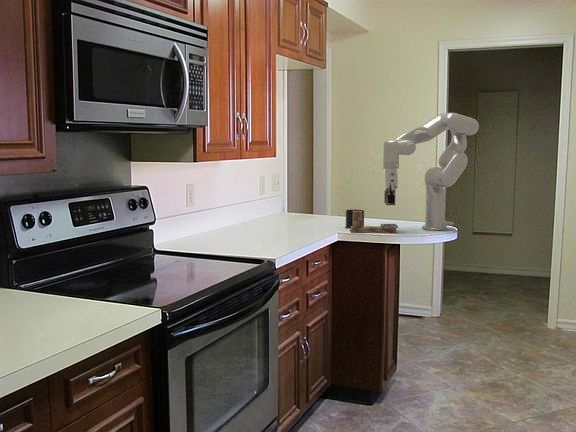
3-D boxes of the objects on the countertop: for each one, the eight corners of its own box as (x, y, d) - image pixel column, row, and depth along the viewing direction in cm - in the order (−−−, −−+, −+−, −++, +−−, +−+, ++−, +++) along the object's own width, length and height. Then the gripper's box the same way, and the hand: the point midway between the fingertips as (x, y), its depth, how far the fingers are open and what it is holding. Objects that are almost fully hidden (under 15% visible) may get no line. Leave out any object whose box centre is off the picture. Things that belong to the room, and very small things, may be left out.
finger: (393, 204, 311) (394, 188, 310) (395, 205, 307) (395, 189, 306) (384, 204, 311) (384, 188, 310) (385, 205, 307) (385, 189, 306)
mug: (368, 226, 329) (369, 209, 328) (359, 229, 319) (359, 212, 317) (352, 225, 334) (352, 208, 332) (342, 228, 323) (342, 210, 322)
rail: (395, 230, 314) (395, 210, 313) (397, 233, 307) (398, 212, 305) (350, 230, 314) (350, 210, 313) (351, 233, 307) (351, 212, 306)
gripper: (401, 166, 298) (400, 204, 300) (395, 164, 314) (395, 200, 317) (385, 166, 298) (385, 204, 300) (381, 164, 315) (380, 200, 317)
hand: (390, 202), depth 309 cm, fingers closed on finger, 4 cm apart
